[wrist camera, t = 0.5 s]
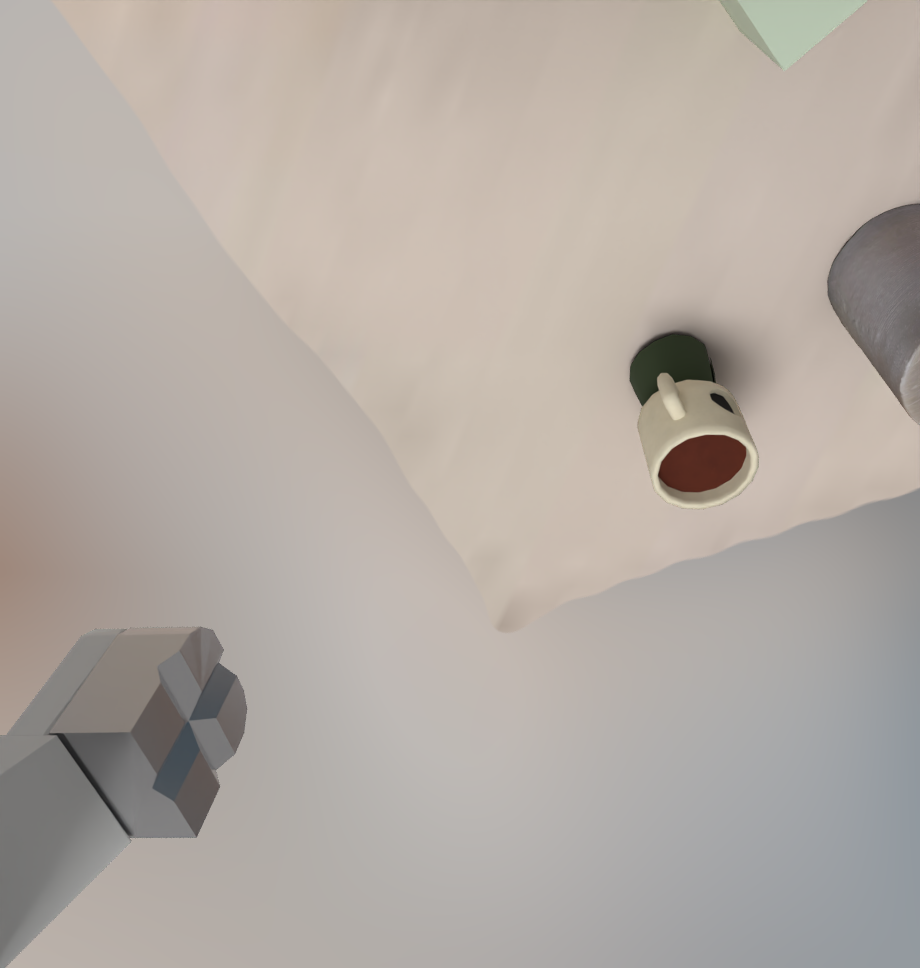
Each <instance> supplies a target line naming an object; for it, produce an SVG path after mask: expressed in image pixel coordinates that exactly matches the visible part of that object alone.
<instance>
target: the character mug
mask: <svg viewBox="0 0 920 968" xmlns="http://www.w3.org/2000/svg"><path fill="white" fill-rule="evenodd" d="M710 360H711V358H710ZM630 382H631V385H632V387H633V389H634V391H635V394H636V395H637V397H638V399H639V401H640V403H641V405H642V406H643V407H642V408H641V412H640V416H639V419H638V431H639V435H640V439H641V443H642V447H643V450H644V454H645V458H646V462H647V466H648V470H649V473H650V477H651V481H652V484H653V488H654V491H655V492H656V493H657V494H658V495H659V496H660V497H661V498H662V499H663V500H664V501H665V502H666V503H669V504H672V505H674V506H677V507H680V508H682V509H706V508H710V507H714V506H718V505H722V504H724V503H726V502H727V501H729V500H731V499H733V498H734V497H736V496H738V495H740V494H741V492H742V491H743V490H744V489H745V488H746V487H747V486H748V485H749V484H750V483H751V482H752V481H753V478H754V476H755V474H756V472H757V469H758V467H759V456H758V452H757V449H756V446H755V444H754V442H753V439H752V437H751V435H750V432H749V430H748V428H747V425H746V422H745V420H744V417H743V415H742V413H741V411H740V409H739V407H738V404H737V402H736V400H735V399H734V397H733V395H732V394H731V393H730V392H729V391H728V390H727V389H726V388H725V387H723V386H721V385H718V384H716V380H715V373H714V369H713V365H712V361H711V364H710V362H709V359H708V355H707V351H706V347H705V345H704V344H703V343H701V342H699V341H698V340H696V339H695V338H693V337H691V336H684V335H675V334H672V335H670V336H667V337H664V338H662V339H659V340H656V341H654V342H653V343H651V344H650V345H649V346H647V347H646V348H645V349H643V350H642V351H640V352H639V354H638V355H637V357H636V358H635V360H634V361H633V363H632V364H631V367H630Z"/></svg>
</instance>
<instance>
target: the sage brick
mask: <svg viewBox="0 0 920 968" xmlns="http://www.w3.org/2000/svg"><path fill="white" fill-rule="evenodd" d="M719 1H720V2H721V4H722V5H723V7H724V8H725V10H726V11H727V13H728V14H729V16H730V17H731V19H732V20H733V22H734V23H735V25H736V26H737V28H738V29H739V31H740V32H742V33H743V34H744V35H745V36H746V37H747V38H748V39H749V40H750V41H751V42H753V43H754V44H755V45H756V46H757V47H758V48H759V49H760V50H761V51H762V52H764V53H765V54H766V55H767V56H768V57H769V58H770V59H771V60H772V61H773V62H775V63H776V64H777V65H778V66H779V67H780V68H781V69H782V70H783V71H785V70H787V69H788V68H789V67H790V66H791V65H792V64H794V63H795V62H796V61H797V60H798V59H800V58H801V57H802V56H803V55H804V54H805V53H807V52H808V51H809V50H810V49H811V48H813V47H814V46H815V45H816V44H817V43H818V42H820V41H821V40H822V39H823V38H824V37H825V36H827V35H828V34H829V33H830V32H831V31H833V30H834V29H835V28H836V27H837V26H838V25H840V24H841V23H842V22H843V21H844V20H846V19H847V18H848V17H849V16H850V15H851V14H853V13H854V12H855V11H856V10H857V9H859V8H860V7H861V6H862V5H863V4H864V3H866V2H867V0H719Z"/></svg>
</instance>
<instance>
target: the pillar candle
mask: <svg viewBox="0 0 920 968" xmlns="http://www.w3.org/2000/svg"><path fill="white" fill-rule="evenodd" d="M828 297H829V300H830V302H831V305H832V307H833V309H834V311H835V312H836V314H837V316H838V317H839V319H840V321H841V323H842V324H843V326H844V327H845V328H846V330H847V331H848V332H849V334H850V335H851V337H852V338H853V339H854V341H855V342H856V344H857V345H858V346H859V347H860V348H861V349H862V351H863V352H864V354H865V355H866V356H867V358H868V359H869V360H870V362H871V363H872V365H873V366H874V367H875V369H876V370H877V372H878V373H879V375H880V376H881V377H882V378H883V380H884V381H885V382H886V384H887V385H888V387H889V388H890V389H891V391H892V392H893V394H894V395H895V396H896V398H897V399H898V401H899V402H900V404H901V405H902V406H903V408H904V409H905V410H906V412H907V413H908V415H909V416H910V417H911V418H912V419H913V420H914V421H915V422H916V423H918V424H919V425H920V204H915V205H908V206H902V207H899V208H895V209H892V210H889V211H887V212H884V213H883V214H881V215H879V216H876V217H875V218H873V219H871V220H870V221H868V222H867V223H866V224H864V225H863V226H862V227H861V228H860V229H859V230H858V231H857V232H856V233H855V235H854V236H853V237H852V238H851V239H850V240H849V241H848V242H847V244H846V245H845V246H844V247H843V249H842V250H841V252H840V253H839V254H838V256H837V257H836V259H835V261H834V262H833V264H832V267H831V270H830V274H829V277H828Z"/></svg>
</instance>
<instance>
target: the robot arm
mask: <svg viewBox="0 0 920 968" xmlns="http://www.w3.org/2000/svg"><path fill="white" fill-rule="evenodd" d="M223 651H224V649H223V647H222V646H221V644H220V642H219V640H218V638H217V637H216V635H215V633H214V631H213V630H211V629H207V628H203V627H161V628H160V627H158V628H157V627H156V628H154V627H153V628H129V629H94V630H92V631H90V632H89V633H87V634H84V635H83V636H81V637H80V639H79V640H78V641H77V642H76V644H75V645H74V646H73V648H72V649H71V650H70V652H69V653H68V654H67V656H66V657H65V658H64V660H63V661H62V662H61V663H60V665H59V666H58V668H57V669H56V670H55V671H54V673H53V674H52V675H51V677H50V678H49V679H48V681H47V682H46V683H45V685H44V686H43V687H42V689H41V690H40V691H39V692H38V694H37V695H36V696H35V698H34V699H33V700H32V702H31V703H30V705H29V706H28V707H27V708H26V710H25V711H24V712H23V714H22V715H21V716H20V718H19V719H18V720H17V721H16V723H15V724H14V726H13V727H12V728H11V730H10V731H9V732H8V733H7V735H0V968H5V967H6V966H7V965H8V964H9V963H10V962H11V961H12V960H13V959H14V958H15V957H16V956H17V955H18V954H19V953H20V952H21V951H22V950H23V949H24V948H25V947H26V946H27V945H28V944H29V943H30V942H31V941H32V940H33V939H34V938H35V937H36V936H37V935H38V934H39V933H40V932H41V931H42V930H43V929H44V928H45V927H46V926H47V925H48V924H49V923H50V922H51V921H52V920H54V919H55V918H56V917H57V916H58V914H60V913H61V912H62V910H63V909H65V908H66V906H68V905H69V903H71V901H73V899H74V898H75V897H77V896H78V894H80V893H81V892H82V891H83V889H85V888H86V887H87V886H88V885H89V884H90V883H91V882H92V881H93V880H94V879H95V878H96V877H97V875H99V874H100V873H101V872H102V871H103V870H104V869H105V868H106V867H107V866H108V865H109V864H110V862H112V861H113V860H114V859H115V858H116V857H117V856H118V855H119V854H120V853H121V852H122V851H123V850H124V848H126V847H127V846H128V845H129V844H130V843H131V839H130V838H196V837H197V836H198V833H199V831H200V829H201V827H202V825H203V823H204V820H205V818H206V816H207V814H208V812H209V810H210V807H211V805H212V803H213V801H214V798H215V797H216V795H217V792H218V790H219V788H220V784H219V780H218V777H217V772H216V770H217V769H218V768H219V767H220V766H221V765H223V764H224V763H225V762H226V761H227V760H228V759H230V758H231V757H232V756H233V755H234V754H235V753H236V751H237V748H238V746H239V744H240V741H241V739H242V737H243V734H244V729H245V721H246V713H247V706H246V700H245V695H244V690H243V688H242V686H241V684H240V682H239V679H238V677H237V676H236V675H235V674H233V673H232V672H230V671H229V670H228V669H226V668H225V667H224V666H222V665H221V664H220V663H219V661H220V659H221V656H222V653H223Z"/></svg>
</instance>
